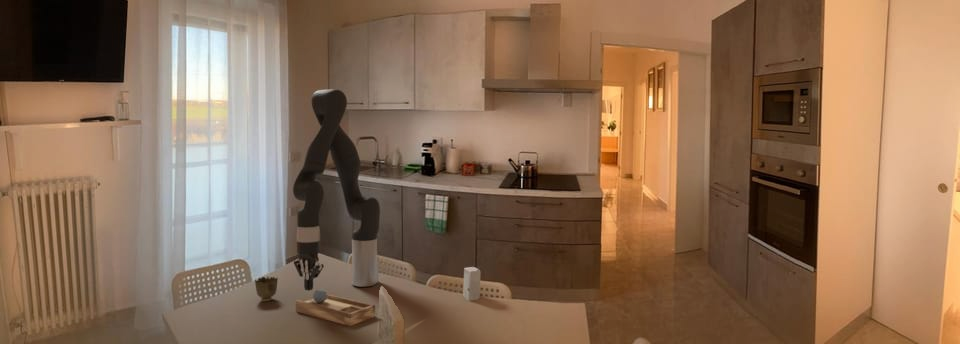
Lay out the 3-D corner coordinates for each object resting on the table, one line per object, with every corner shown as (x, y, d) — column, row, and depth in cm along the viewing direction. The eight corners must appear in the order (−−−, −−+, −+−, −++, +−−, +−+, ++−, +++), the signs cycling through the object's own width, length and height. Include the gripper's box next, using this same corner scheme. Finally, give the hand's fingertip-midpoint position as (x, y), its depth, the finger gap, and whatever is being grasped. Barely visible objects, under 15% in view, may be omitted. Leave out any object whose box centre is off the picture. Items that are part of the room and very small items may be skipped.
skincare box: (462, 300, 194) (462, 267, 194) (473, 299, 196) (474, 266, 195) (468, 305, 189) (469, 271, 188) (480, 304, 190) (481, 270, 190)
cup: (269, 305, 186) (269, 282, 186) (250, 303, 187) (250, 280, 187) (282, 299, 193) (281, 277, 193) (263, 297, 195) (263, 275, 194)
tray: (321, 303, 189) (321, 292, 189) (375, 316, 176) (375, 305, 176) (295, 311, 180) (295, 300, 180) (350, 326, 167) (350, 314, 166)
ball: (320, 300, 184) (320, 287, 184) (329, 302, 182) (329, 289, 182) (310, 303, 181) (310, 290, 180) (319, 305, 178) (319, 292, 178)
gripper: (330, 239, 183) (330, 290, 184) (304, 235, 190) (304, 284, 191) (312, 243, 176) (313, 295, 178) (286, 238, 184) (286, 289, 185)
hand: (308, 289), depth 184 cm, fingers closed
